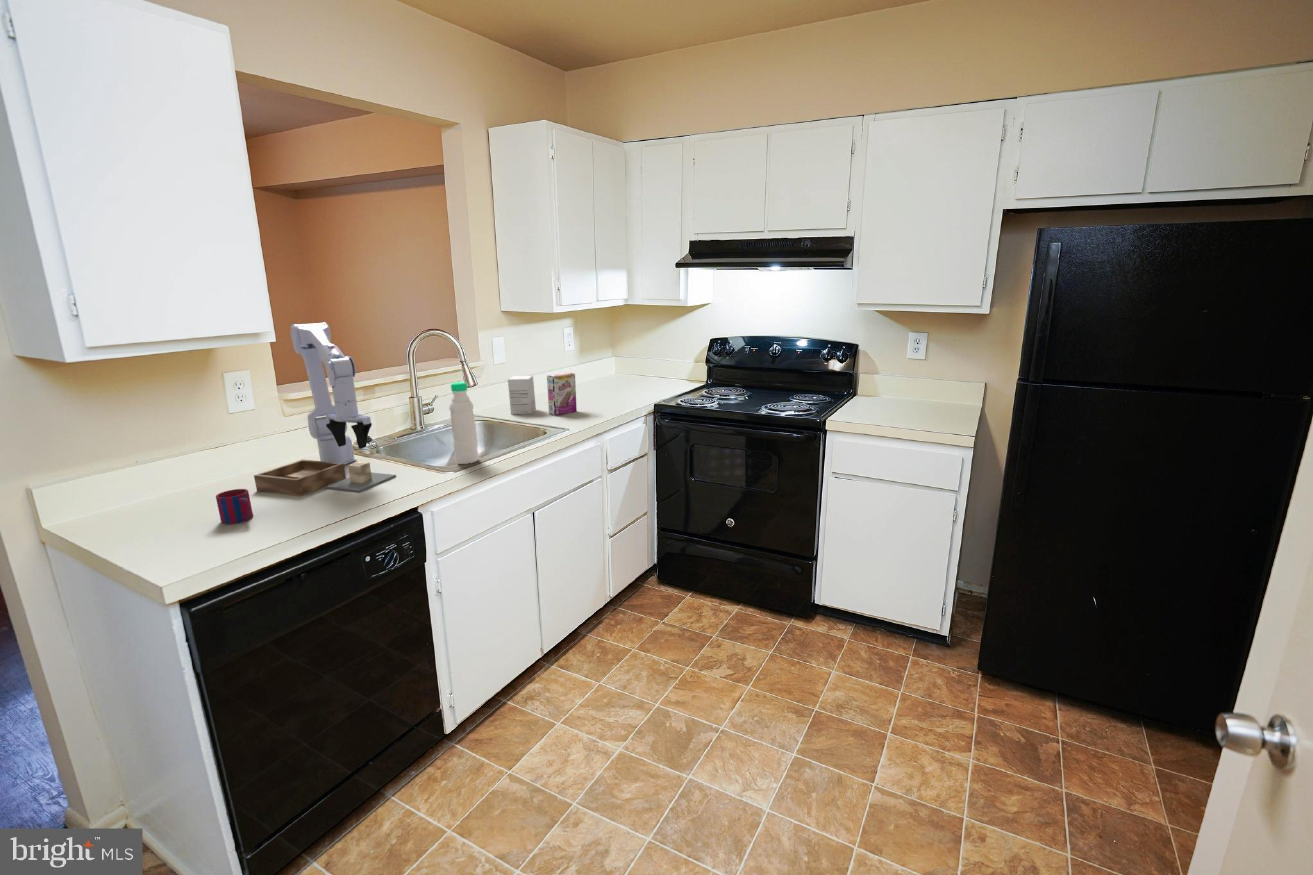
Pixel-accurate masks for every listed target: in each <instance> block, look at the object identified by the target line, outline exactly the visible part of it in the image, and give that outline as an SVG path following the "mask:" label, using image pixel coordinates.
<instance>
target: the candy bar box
mask: <svg viewBox="0 0 1313 875" xmlns="http://www.w3.org/2000/svg"><path fill="white" fill-rule="evenodd" d="M546 380H547V382H546V383H547V385H546V386H547V399H548V400H547V401H548V402H547V403H548V414H549V415H551V416H554V417H555V416H562V415H565V414H566V415H567V414H570V413H571V414H572V413H576V412H577V410H578V409H577V388H576V373H573V372H563V373H557V374H548V375H546Z"/></svg>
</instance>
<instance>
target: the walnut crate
mask: <svg viewBox="0 0 1313 875" xmlns="http://www.w3.org/2000/svg"><path fill="white" fill-rule="evenodd" d="M253 477H254V478H253V479H254V483H255V488H256V491H257V492H265V493H271V494H272V493H273V494H280V495H288V496H295V497H298V496H299V497H301V496H304V495H306V494H308V493H311V492H314V491H317V490H319V489H321V488H325V487H326V486H328V485H331V484H333V483H336V482H339V481H341V480H344V479H346V478H347V476H346V470H345V465H344V463H334V462H324V461H319V460H314V459H313V460H312V459H300V460H296V461H294V462H291V463H288V464H285V465H281V466H278V467H276V468H273V469H269V470H267V471H263V472H260V473H258V474H255V475H253Z"/></svg>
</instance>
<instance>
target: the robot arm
mask: <svg viewBox="0 0 1313 875" xmlns="http://www.w3.org/2000/svg"><path fill="white" fill-rule="evenodd" d="M330 328H331V327H330V326H329V324H328V323H327V322H325V321H323V322H317V323H302V324H301V323H300V324H299V323H298V324H296V323H295V324H291V326H290V330H289V331H290V338H291V342H292V346H293V349H294V352H295V353H296V354H299V355H301V357H302V359H303V362H304V366H305V369H306V373H307V379H308V382H309V387H310V391H311V395H312V399H313V403H314V408H313V409H312V410H311V411H310V412H309V413H308V414H307V417H306V418H307V422H308V423H307V424H308V431H309V434H310V436H311V438H313V439H315V440H316V442H317V447H318V448H317V449H318V454H319V460H320V461H324V462H334V463H344V466H345V465H347V464H348V465H349V464H350V463H354V462H355V461H356V462H357V458H355V453H354V448H353V442H352V439H351V437H350V436H349V435H348V434H346V433H347V430H348V424H349V423H352V425H351V426H350V428H351V429H352V431H353V433H354V435H355V439H356V444H357V447H358V448H359V450H361V449H364V448H367V443H368V436H369V432H370V430H371V428H372V425H373V424H372V420H371V416H369V415H364V414H360V413H359V408H358V402H357V395H356V389H355V388H356V387H355V382H354V378H355V376H356V366H355V362H354V359H353V358H352V356H348V355H344V353H343V352H342V350H341V349H340V348H339V347H338V346H337V345H335V343H331V339H332V333H331V329H330ZM324 366H325V370H324ZM325 372H326V373H325ZM326 375H327V377H328V381H327V378H326ZM327 382H329V385H330V386H331V389H332V397H333V403H334V405H333V404H332V398H331V395H330V391H329V387H328V383H327ZM353 423H354V424H353Z"/></svg>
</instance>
